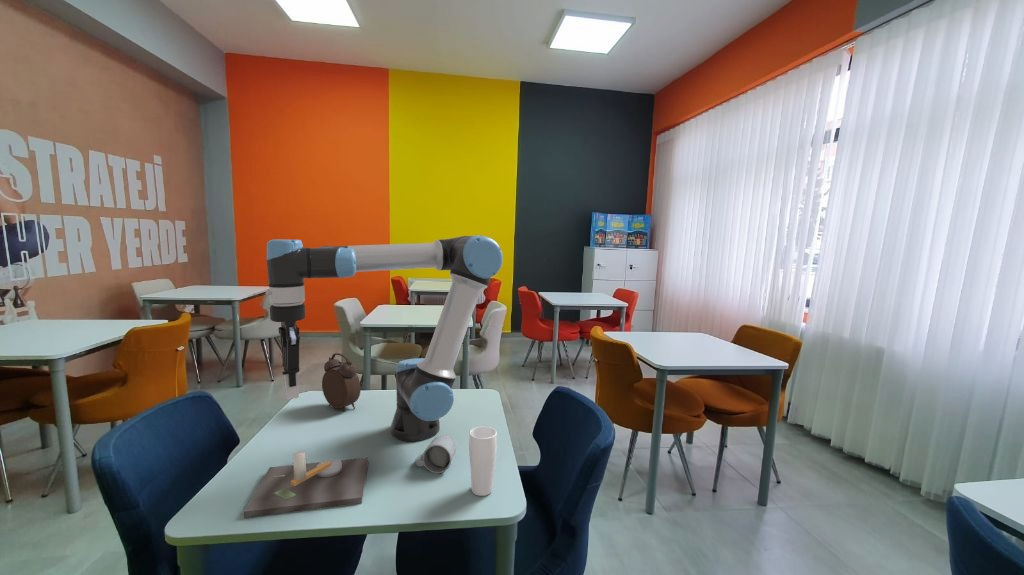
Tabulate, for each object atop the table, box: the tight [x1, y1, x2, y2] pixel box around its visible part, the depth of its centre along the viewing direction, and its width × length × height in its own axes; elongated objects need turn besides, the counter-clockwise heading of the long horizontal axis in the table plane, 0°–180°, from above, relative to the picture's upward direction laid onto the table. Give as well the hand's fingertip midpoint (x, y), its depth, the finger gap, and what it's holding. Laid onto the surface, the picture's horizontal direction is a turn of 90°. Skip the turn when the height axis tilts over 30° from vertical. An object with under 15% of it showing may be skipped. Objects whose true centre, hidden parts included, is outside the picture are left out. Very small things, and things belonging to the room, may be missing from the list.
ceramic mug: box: [414, 434, 457, 474], centre depth 112 cm, size 11×8×8 cm
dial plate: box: [243, 456, 369, 519], centre depth 101 cm, size 24×18×2 cm
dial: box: [291, 450, 342, 486], centre depth 102 cm, size 13×6×8 cm, turn 153°
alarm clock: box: [321, 352, 362, 412], centre depth 147 cm, size 14×7×20 cm, turn 59°
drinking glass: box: [468, 425, 498, 497], centre depth 101 cm, size 7×7×15 cm
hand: (292, 397), depth 103 cm, fingers closed
